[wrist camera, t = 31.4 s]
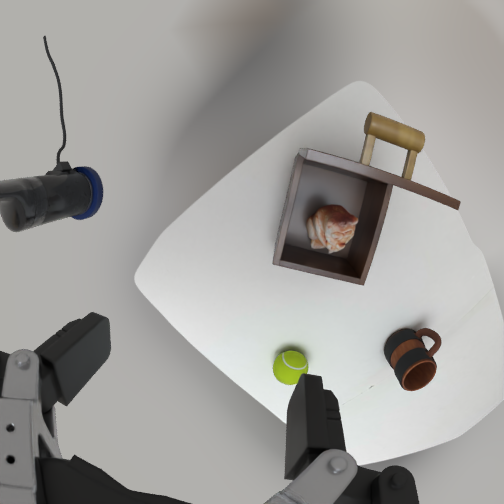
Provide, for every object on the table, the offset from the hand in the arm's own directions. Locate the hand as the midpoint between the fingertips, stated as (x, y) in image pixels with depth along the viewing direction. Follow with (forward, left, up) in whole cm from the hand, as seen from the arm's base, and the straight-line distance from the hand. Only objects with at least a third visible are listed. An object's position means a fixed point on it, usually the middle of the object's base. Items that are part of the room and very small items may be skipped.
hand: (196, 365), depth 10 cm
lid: (0, +14, -21) cm, 25 cm away
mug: (+38, +11, -40) cm, 56 cm away
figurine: (+6, +8, -39) cm, 41 cm away
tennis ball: (+27, -12, -40) cm, 50 cm away
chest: (+5, +9, -40) cm, 41 cm away
